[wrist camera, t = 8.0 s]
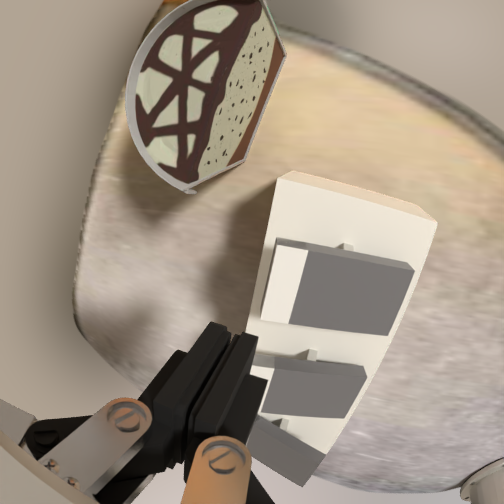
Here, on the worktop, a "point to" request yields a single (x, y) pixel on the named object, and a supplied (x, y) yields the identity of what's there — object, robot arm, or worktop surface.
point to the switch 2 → (307, 386)
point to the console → (347, 238)
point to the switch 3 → (283, 451)
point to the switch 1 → (333, 288)
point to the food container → (202, 88)
